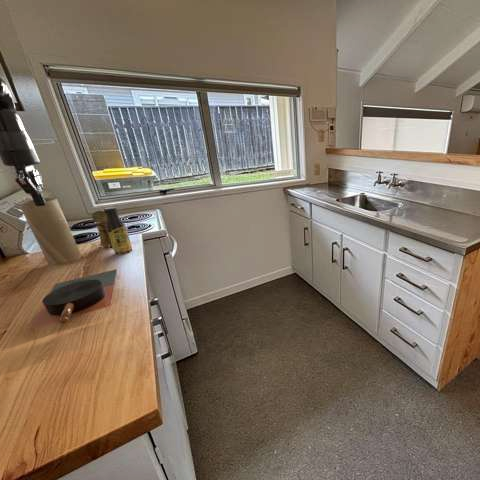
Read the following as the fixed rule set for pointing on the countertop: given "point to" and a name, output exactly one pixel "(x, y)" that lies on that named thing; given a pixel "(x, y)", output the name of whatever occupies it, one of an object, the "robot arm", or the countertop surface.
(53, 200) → the tube
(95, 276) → the board
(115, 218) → the sauce bottle
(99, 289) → the pan
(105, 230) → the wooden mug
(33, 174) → the robot arm
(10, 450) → the countertop surface
